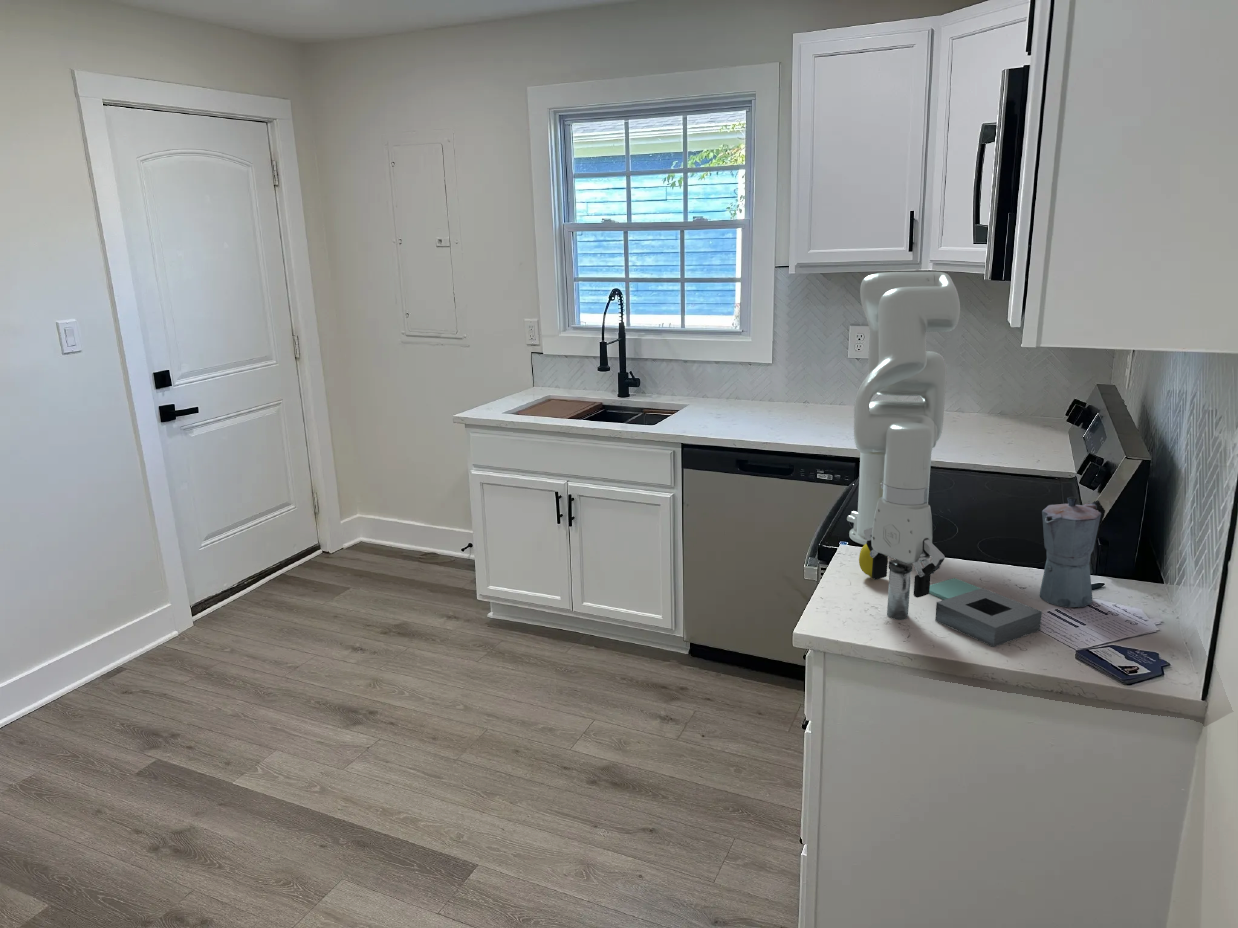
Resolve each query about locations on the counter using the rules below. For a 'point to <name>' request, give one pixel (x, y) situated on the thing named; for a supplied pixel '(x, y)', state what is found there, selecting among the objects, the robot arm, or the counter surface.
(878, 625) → the counter surface
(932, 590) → the pad
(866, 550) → the lemon
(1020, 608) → the socket block
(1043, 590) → the moka pot
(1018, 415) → the counter surface
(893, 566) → the clear capped vial
